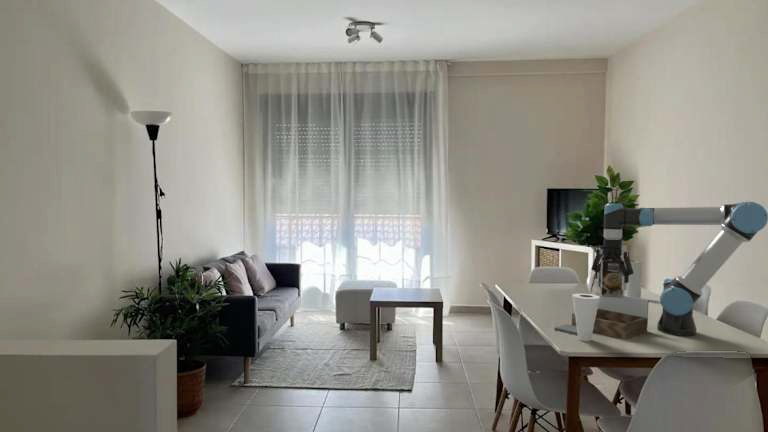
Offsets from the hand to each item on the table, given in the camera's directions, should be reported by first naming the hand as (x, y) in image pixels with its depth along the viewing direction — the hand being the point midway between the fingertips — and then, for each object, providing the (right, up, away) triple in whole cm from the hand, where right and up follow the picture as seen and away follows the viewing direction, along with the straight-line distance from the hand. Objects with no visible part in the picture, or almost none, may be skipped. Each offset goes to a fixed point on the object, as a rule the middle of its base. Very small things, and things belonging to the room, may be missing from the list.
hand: (611, 288), depth 236 cm
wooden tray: (-1, -18, +1) cm, 18 cm away
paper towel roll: (+43, -16, +75) cm, 88 cm away
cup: (-18, -19, -17) cm, 31 cm away
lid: (+7, -12, +7) cm, 16 cm away
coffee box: (0, -4, 0) cm, 4 cm away
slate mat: (-19, -18, -2) cm, 26 cm away
